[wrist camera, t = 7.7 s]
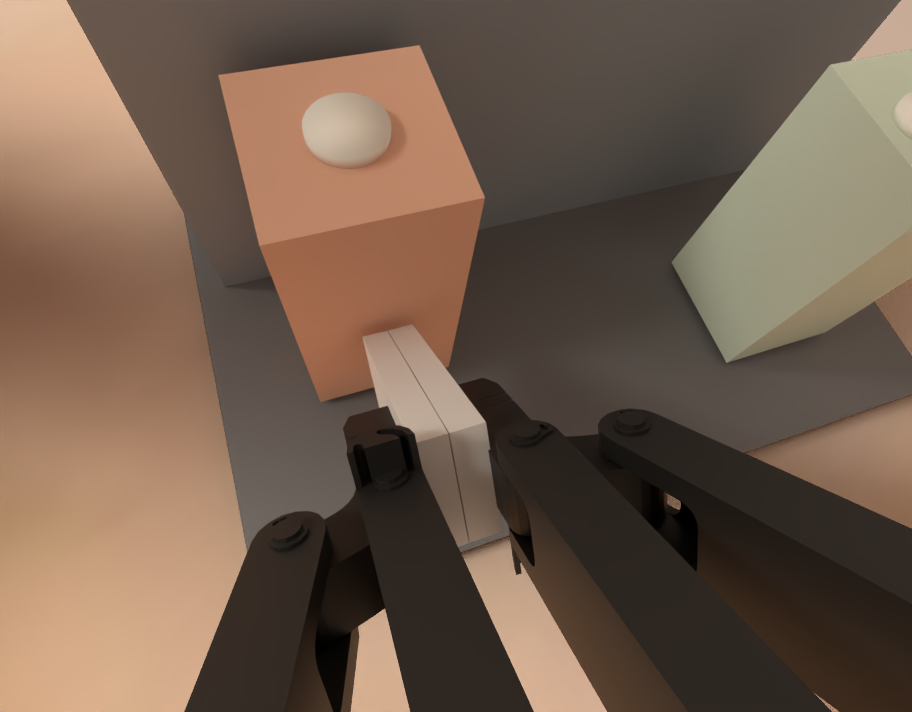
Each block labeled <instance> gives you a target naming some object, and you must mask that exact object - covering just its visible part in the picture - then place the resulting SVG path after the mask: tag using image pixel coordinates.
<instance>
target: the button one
mask: <svg viewBox="0 0 912 712" xmlns="http://www.w3.org/2000/svg"><path fill="white" fill-rule="evenodd" d="M218 76H219V80H220V84H221V88H222V92H223V97H224V101H225V105H226V109H227V113H228V117H229V122H230V126H231V130H232V134H233V138H234V142H235V147H236V151H237V155H238V159H239V163H240V167H241V172H242V176H243V180H244V184H245V188H246V192H247V197H248V201H249V205H250V209H251V213H252V217H253V221H254V226H255V230H256V234H257V238H258V242H259V246H260V249H261V251H262V254H263V256H264V259H265V262H266V264H267V267H268V269H269V272H270V274H271V277H272V279H273V282H274V285H275V287H276V290H277V292H278V295H279V297H280V300H281V303H282V305H283V308H284V310H285V313H286V315H287V318H288V320H289V323H290V326H291V328H292V331H293V333H294V336H295V338H296V341H297V344H298V346H299V349H300V351H301V354H302V356H303V359H304V361H305V364H306V367H307V369H308V372H309V374H310V377H311V379H312V382H313V384H314V387H315V390H316V392H317V395H318V397H319V400H320V402H323V401H326V400H330V399H334V398H337V397H341V396H345V395H348V394H352V393H355V392H359V391H363V390H366V389H370V388H374V384H373V380H372V375H371V371H370V367H369V363H368V359H367V355H366V350H365V346H364V342H363V338H362V337H364V336H368V335H372V334H376V333H380V332H384V331H388V330H392V329H396V328H400V327H404V326H408V325H412V324H413V326H414V327H415V328H416V330H417V331H418V332H419V334H420V335H421V336H422V338H423V339H424V340H425V342H426V343H427V344H428V346H429V347H430V348H431V350H432V351H433V352H434V354H435V355H436V356H437V358H438V359H439V360H440V362H441V363H442V364H443V366H444V367H445V368H446V367H449V363H450V359H451V354H452V349H453V345H454V340H455V335H456V331H457V326H458V321H459V317H460V312H461V307H462V303H463V298H464V293H465V289H466V284H467V279H468V275H469V270H470V265H471V261H472V256H473V251H474V247H475V242H476V237H477V233H478V228H479V223H480V219H481V214H482V209H483V205H484V200H485V196H484V194H483V192H482V190H481V187H480V185H479V183H478V180H477V178H476V176H475V173H474V171H473V169H472V166H471V164H470V162H469V159H468V157H467V155H466V152H465V150H464V148H463V145H462V143H461V141H460V138H459V136H458V134H457V131H456V129H455V127H454V124H453V122H452V120H451V117H450V115H449V113H448V110H447V108H446V106H445V103H444V101H443V99H442V96H441V94H440V92H439V89H438V87H437V85H436V82H435V80H434V78H433V75H432V73H431V71H430V68H429V66H428V64H427V61H426V59H425V57H424V54H423V52H422V50H421V48H420V45H418V46H411V47H404V48H398V49H391V50H384V51H377V52H371V53H364V54H357V55H350V56H344V57H337V58H330V59H323V60H317V61H310V62H303V63H296V64H290V65H283V66H276V67H269V68H263V69H256V70H249V71H242V72H236V73H229V74H222V75H218Z"/></svg>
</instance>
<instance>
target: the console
mask: <svg viewBox="0 0 912 712" xmlns="http://www.w3.org/2000/svg"><path fill="white" fill-rule="evenodd" d="M900 1H901V0H67V2H68V4H69V5H70V7H71V9H72V11H73V13H74V14H75V16H76V18H77V20H78V22H79V23H80V25H81V27H82V29H83V31H84V33H85V34H86V36H87V38H88V40H89V42H90V43H91V45H92V47H93V49H94V51H95V52H96V54H97V56H98V58H99V60H100V62H101V63H102V65H103V67H104V69H105V71H106V72H107V74H108V76H109V78H110V80H111V82H112V83H113V85H114V87H115V89H116V91H117V92H118V94H119V96H120V98H121V100H122V101H123V103H124V105H125V107H126V109H127V111H128V112H129V114H130V116H131V118H132V120H133V121H134V123H135V125H136V127H137V129H138V130H139V132H140V134H141V136H142V138H143V140H144V141H145V143H146V145H147V147H148V149H149V150H150V152H151V154H152V156H153V158H154V159H155V161H156V163H157V165H158V167H159V169H160V170H161V172H162V174H163V176H164V178H165V179H166V181H167V183H168V185H169V187H170V189H171V190H172V192H173V194H174V196H175V198H176V199H177V201H178V203H179V205H180V207H181V208H182V210H183V212H184V216H185V221H186V227H187V232H188V237H189V243H190V248H191V253H192V259H193V264H194V269H195V275H196V280H197V285H198V291H199V296H200V301H201V307H202V312H203V318H204V323H205V328H206V334H207V339H208V344H209V350H210V355H211V360H212V366H213V371H214V376H215V382H216V387H217V392H218V398H219V403H220V408H221V414H222V419H223V425H224V430H225V435H226V441H227V446H228V451H229V457H230V462H231V467H232V473H233V478H234V483H235V489H236V494H237V499H238V505H239V510H240V515H241V521H242V526H243V532H244V537H245V542H246V548H247V552H248V549H249V547H250V544H251V542H252V540H253V539H254V537H255V536H256V534H257V533H258V531H259V530H261V529H262V528H263V527H264V526H265V525H266V524H268V523H269V522H271V521H272V520H274V519H276V518H278V517H280V516H282V515H285V514H289V513H292V512H296V511H311V512H314V513H317V514H320V516H321V517H322V518H323V519H326V518H328V517H329V516H331V515H333V514H334V513H336V512H337V511H339V510H341V509H342V508H343V507H344V506H345V505H346V504H347V503H348V502H349V501H350V500H351V498H352V497H353V496H354V493H355V490H356V487H355V483H354V479H353V476H352V472H351V468H350V465H349V461H348V458H347V454H346V453H347V444H346V440H345V436H344V431H343V427H344V425H345V423H346V421H347V419H348V417H349V416H352V415H356V414H360V413H363V412H367V411H370V410H374V409H378V408H379V405H378V400H377V396H376V392H375V388H370V389H366V390H363V391H359V392H355V393H352V394H348V395H345V396H341V397H337V398H334V399H330V400H326V401H323V402H320V400H319V397H318V395H317V392H316V390H315V387H314V384H313V382H312V379H311V377H310V374H309V372H308V369H307V367H306V364H305V361H304V359H303V356H302V354H301V351H300V349H299V346H298V344H297V341H296V338H295V336H294V333H293V331H292V328H291V326H290V323H289V320H288V318H287V315H286V313H285V310H284V308H283V305H282V303H281V300H280V297H279V295H278V292H277V290H276V287H275V285H274V282H273V279H272V277H271V274H270V272H269V269H268V267H267V264H266V262H265V259H264V256H263V254H262V251H261V249H260V246H259V242H258V238H257V234H256V230H255V226H254V221H253V217H252V213H251V209H250V205H249V201H248V197H247V192H246V188H245V184H244V180H243V176H242V172H241V167H240V163H239V159H238V155H237V151H236V147H235V142H234V138H233V134H232V130H231V126H230V122H229V117H228V113H227V109H226V105H225V101H224V97H223V92H222V88H221V84H220V80H219V76H218V75H222V74H229V73H236V72H242V71H249V70H256V69H263V68H269V67H276V66H283V65H290V64H296V63H303V62H310V61H317V60H323V59H330V58H337V57H344V56H350V55H357V54H364V53H371V52H377V51H384V50H391V49H398V48H404V47H411V46H418V45H420V48H421V50H422V52H423V54H424V57H425V59H426V61H427V64H428V66H429V68H430V71H431V73H432V75H433V78H434V80H435V82H436V85H437V87H438V89H439V92H440V94H441V96H442V99H443V101H444V103H445V106H446V108H447V110H448V113H449V115H450V117H451V120H452V122H453V124H454V127H455V129H456V131H457V134H458V136H459V138H460V141H461V143H462V145H463V148H464V150H465V152H466V155H467V157H468V159H469V162H470V164H471V166H472V169H473V171H474V173H475V176H476V178H477V180H478V183H479V185H480V187H481V190H482V192H483V194H484V196H485V200H484V205H483V209H482V214H481V219H480V223H479V228H478V233H477V237H476V242H475V247H474V251H473V256H472V261H471V265H470V270H469V275H468V279H467V284H466V289H465V293H464V298H463V303H462V307H461V312H460V317H459V321H458V326H457V331H456V335H455V340H454V345H453V349H452V354H451V359H450V363H449V367H446V370H447V371H448V372H449V374H450V375H451V376H452V378H453V379H454V380H455V382H456V383H457V384H462V383H465V382H469V381H473V380H476V379H480V378H486V379H488V380H491V381H493V382H496V383H498V384H499V385H500V386H501V387H502V388H503V390H504V391H505V392H506V394H508V395H509V396H510V397H511V398H512V400H513V401H515V403H516V404H517V405H518V406H519V407H520V408H521V409H522V410H523V411H524V412H525V413H526V415H527V416H528V417H529V418H530V419H531V420H539V421H543V422H547V423H550V424H551V425H553V426H555V427H556V428H557V429H558V430H559V431H560V432H561V433H562V434H563V435H564V436H584V435H593V434H598V424H599V422H600V419H601V418H603V417H604V416H605V415H607V414H608V413H611V412H614V411H617V410H621V409H628V408H633V409H642V410H647V411H650V412H653V413H656V414H658V415H660V416H663V417H665V418H667V419H669V420H672V421H674V422H676V423H678V424H680V425H683V426H685V427H687V428H689V429H691V430H694V431H696V432H698V433H700V434H703V435H705V436H707V437H709V438H711V439H714V440H716V441H718V442H720V443H722V444H725V445H727V446H729V447H731V448H734V449H736V450H738V451H740V452H742V453H746V452H749V451H752V450H755V449H758V448H761V447H764V446H766V445H769V444H772V443H775V442H778V441H781V440H784V439H786V438H789V437H792V436H795V435H798V434H801V433H804V432H806V431H809V430H812V429H815V428H818V427H821V426H823V425H826V424H829V423H832V422H835V421H838V420H841V419H843V418H846V417H849V416H852V415H855V414H858V413H861V412H863V411H866V410H869V409H872V408H875V407H878V406H881V405H883V404H886V403H889V402H892V401H895V400H898V399H901V398H903V397H906V396H909V395H912V356H911V355H910V353H909V352H908V350H907V349H906V347H905V346H904V344H903V343H902V341H901V340H900V339H899V337H898V336H897V334H896V333H895V331H894V330H893V328H892V327H891V325H890V324H889V322H888V321H887V320H886V318H885V317H884V315H883V314H882V312H881V311H880V309H879V308H878V306H877V305H876V303H875V302H873V303H871V304H870V305H868V306H866V307H865V308H863V309H862V310H860V311H859V312H857V313H855V314H854V315H852V316H851V317H849V318H847V319H846V320H844V321H843V322H841V323H840V324H838V325H836V326H835V327H833V328H832V329H830V330H828V331H827V332H825V333H822V334H819V335H815V336H812V337H809V338H806V339H802V340H799V341H796V342H793V343H789V344H786V345H783V346H780V347H776V348H773V349H770V350H767V351H763V352H760V353H757V354H754V355H750V356H747V357H744V358H741V359H737V360H734V361H731V362H728V363H726V361H725V359H724V357H723V355H722V354H721V352H720V350H719V348H718V346H717V344H716V343H715V341H714V339H713V337H712V335H711V334H710V332H709V330H708V328H707V326H706V324H705V323H704V321H703V319H702V317H701V315H700V314H699V312H698V310H697V308H696V306H695V304H694V303H693V301H692V299H691V297H690V295H689V294H688V292H687V290H686V288H685V286H684V284H683V283H682V281H681V279H680V277H679V275H678V274H677V272H676V270H675V268H674V266H673V264H672V263H671V262H672V261H673V260H674V258H675V257H676V256H677V255H678V253H679V252H680V251H681V250H682V248H683V247H684V246H685V245H686V243H687V242H688V241H689V240H690V238H691V237H692V236H693V235H694V234H695V232H696V231H697V230H698V229H699V227H700V226H701V225H702V224H703V222H704V221H705V220H706V219H707V217H708V216H709V215H710V214H711V212H712V211H713V210H714V209H715V207H716V206H717V205H718V204H719V202H720V201H721V200H722V199H723V197H724V196H725V195H726V194H727V192H728V191H729V190H730V189H731V188H732V186H733V185H734V184H735V183H736V181H737V180H738V179H739V178H740V176H741V175H742V174H743V173H744V171H745V170H746V169H747V168H748V166H749V165H750V164H751V163H752V161H753V160H754V159H755V158H756V156H757V155H758V154H759V153H760V151H761V150H762V149H763V148H764V146H765V145H766V144H767V143H768V142H769V140H770V139H771V138H772V137H773V135H774V134H775V133H776V132H777V130H778V129H779V128H780V127H781V125H782V124H783V123H784V122H785V120H786V119H787V118H788V117H789V115H790V114H791V113H792V112H793V110H794V109H795V108H796V107H797V105H798V104H799V103H800V102H801V100H802V99H803V98H804V97H805V95H806V94H807V93H808V92H809V91H810V89H811V88H812V87H813V86H814V84H815V83H816V82H817V81H818V79H819V78H820V77H821V76H822V74H823V73H824V72H825V71H826V69H827V68H828V67H829V66H830V65H831V64H836V63H841V62H847V61H851V59H852V58H853V57H854V56H855V55H856V53H857V52H858V51H859V50H860V49H861V47H862V46H863V45H864V44H865V43H866V41H867V40H868V39H869V38H870V37H871V35H872V34H873V33H874V32H875V31H876V29H877V28H878V27H879V26H880V25H881V23H882V22H883V21H884V20H885V19H886V18H887V16H888V15H889V14H890V13H891V11H892V10H893V9H894V8H895V7H896V6H897V4H898V3H899V2H900ZM500 515H501V522H502V528H503V532H500V533H497V534H494V535H491V536H488V537H485V538H482V539H479V540H476V541H473V542H469V543H467V544H464V545H462V546H459V547H458V548H459V550H460V552H464V551H467V550H470V549H472V548H475V547H478V546H481V545H484V544H487V543H490V542H492V541H495V540H498V539H501V538H504V537H507V536H510V535H509V528H508V524H507V522H506V521H505V519H504V517H503V516H502V514H501V512H500ZM468 541H469V540H468Z"/></svg>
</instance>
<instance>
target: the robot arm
mask: <svg viewBox="0 0 912 712" xmlns="http://www.w3.org/2000/svg"><path fill="white" fill-rule="evenodd" d="M362 338H363V342H364V346H365V350H366V355H367V359H368V363H369V367H370V371H371V375H372V380H373V384H374V388H375V392H376V396H377V400H378V405H379V408H378V409H374V410H370V411H367V412H363V413H360V414H356V415H352V416H349V417H348V419H347V421H346V423H345V425H344V427H343V431H344V436H345V440H346V444H347V453H346V454H347V458H348V461H349V465H350V468H351V472H352V476H353V479H354V483H355V487H356V490H355V493H354V496H353V497H352V498H351V500H350V501H349V502H348V503H347V504H346V505H345V506H344V507H343V508H342V509H341V510H339V511H337V512H336V513H334V514H333V515H331V516H329V517H328V518H326V519H323V518H322V517H321V516H320V514H317V513H314V512H311V511H296V512H292V513H289V514H285V515H282V516H280V517H278V518H276V519H274V520H272V521H271V522H269V523H268V524H266V525H265V526H264V527H263V528H262V529H261V530H259V531H258V533H257V534H256V536H255V537H254V539H253V540H252V542H251V544H250V547H249V549H248V552H247V555H246V557H245V560H244V562H243V565H242V567H241V570H240V572H239V575H238V577H237V580H236V582H235V585H234V588H233V590H232V593H231V595H230V598H229V600H228V603H227V605H226V608H225V610H224V613H223V615H222V618H221V621H220V623H219V626H218V628H217V631H216V633H215V636H214V638H213V641H212V643H211V646H210V648H209V651H208V653H207V656H206V659H205V661H204V664H203V666H202V669H201V671H200V674H199V676H198V679H197V681H196V684H195V686H194V689H193V692H192V694H191V697H190V699H189V702H188V704H187V707H186V709H185V712H350V711H351V703H352V694H353V685H354V677H355V668H356V659H357V651H358V642H359V631H358V626H359V625H361V624H362V623H364V622H365V621H367V620H368V619H370V618H371V617H373V616H374V615H376V614H377V613H379V612H380V611H382V610H383V609H384V608H385V609H386V614H387V618H388V622H389V626H390V630H391V634H392V638H393V642H394V646H395V651H396V655H397V659H398V663H399V667H400V671H401V675H402V679H403V683H404V688H405V692H406V696H407V700H408V704H409V708H410V712H534V711H533V709H532V707H531V705H530V702H529V700H528V698H527V696H526V694H525V692H524V689H523V687H522V685H521V683H520V681H519V679H518V676H517V674H516V672H515V670H514V668H513V665H512V663H511V661H510V659H509V657H508V655H507V652H506V650H505V648H504V646H503V644H502V642H501V639H500V637H499V635H498V633H497V631H496V628H495V626H494V624H493V622H492V620H491V618H490V615H489V613H488V611H487V609H486V607H485V605H484V602H483V600H482V598H481V596H480V594H479V591H478V589H477V587H476V585H475V583H474V581H473V578H472V576H471V574H470V572H469V570H468V568H467V565H466V563H465V561H464V559H463V557H462V554H461V552H460V550H459V548H458V547H459V546H462V545H464V544H467V543H469V542H473V541H476V540H479V539H482V538H485V537H488V536H491V535H494V534H497V533H500V532H503V528H502V522H501V515H500V512H501V514H502V516H503V517H504V519H505V521H506V522H507V524H508V528H509V535H510V541H511V548H512V555H513V561H514V567H515V571H516V575H517V574H520V573H521V567H520V563H522V565H523V566H524V568H525V570H526V571H527V573H528V575H529V577H530V578H531V580H532V582H533V584H534V585H535V587H536V589H537V591H538V592H539V594H540V596H541V597H542V599H543V601H544V603H545V604H546V606H547V608H548V610H549V611H550V613H551V615H552V617H553V618H554V620H555V622H556V623H557V625H558V627H559V629H560V630H561V632H562V634H563V636H564V637H565V639H566V641H567V643H568V644H569V646H570V648H571V650H572V651H573V653H574V655H575V656H576V658H577V660H578V662H579V663H580V665H581V667H582V669H583V670H584V672H585V674H586V676H587V677H588V679H589V681H590V682H591V684H592V686H593V688H594V689H595V691H596V693H597V695H598V696H599V698H600V700H601V702H602V703H603V705H604V707H605V708H606V710H607V712H832V711H831V710H830V709H829V708H828V707H827V706H826V705H825V704H824V703H823V702H822V701H821V700H820V699H819V698H818V697H817V696H816V695H815V694H817V695H818V696H819V697H821V698H822V699H823V700H825V701H826V702H827V703H829V704H830V705H831V706H833V707H834V708H835V709H837V710H838V711H839V712H912V529H911V528H909V527H906V526H904V525H902V524H900V523H898V522H895V521H893V520H891V519H889V518H886V517H884V516H882V515H880V514H878V513H875V512H873V511H871V510H869V509H867V508H864V507H862V506H860V505H858V504H855V503H853V502H851V501H849V500H847V499H844V498H842V497H840V496H838V495H835V494H833V493H831V492H829V491H827V490H824V489H822V488H820V487H818V486H816V485H813V484H811V483H809V482H807V481H804V480H802V479H800V478H798V477H796V476H793V475H791V474H789V473H787V472H785V471H782V470H780V469H778V468H776V467H773V466H771V465H769V464H767V463H765V462H762V461H760V460H758V459H756V458H754V457H751V456H749V455H747V454H745V453H742V452H740V451H738V450H736V449H734V448H731V447H729V446H727V445H725V444H722V443H720V442H718V441H716V440H714V439H711V438H709V437H707V436H705V435H703V434H700V433H698V432H696V431H694V430H691V429H689V428H687V427H685V426H683V425H680V424H678V423H676V422H674V421H672V420H669V419H667V418H665V417H663V416H660V415H658V414H656V413H653V412H650V411H647V410H642V409H633V408H628V409H621V410H617V411H614V412H611V413H608V414H607V415H605V416H604V417H603V418H601V419H600V422H599V424H598V434H593V435H584V436H564V435H563V434H562V433H561V432H560V431H559V430H558V429H557V428H556V427H555V426H553V425H551V424H550V423H547V422H543V421H539V420H531V419H530V418H529V417H528V416H527V415H526V413H525V412H524V411H523V410H522V409H521V408H520V407H519V406H518V405H517V404H516V403H515V401H513V400H512V398H511V397H510V396H509V395H508V394H506V392H505V391H504V390H503V388H502V387H501V386H500V385H499V384H498V383H496V382H493V381H491V380H488V379H486V378H480V379H476V380H473V381H469V382H465V383H462V384H457V383H456V382H455V380H454V379H453V378H452V376H451V375H450V374H449V372H448V371H447V370H446V368H445V367H444V366H443V364H442V363H441V362H440V360H439V359H438V358H437V356H436V355H435V354H434V352H433V351H432V350H431V348H430V347H429V346H428V344H427V343H426V342H425V340H424V339H423V338H422V336H421V335H420V334H419V332H418V331H417V330H416V328H415V327H414V326H413V324H412V325H408V326H404V327H400V328H396V329H392V330H388V331H384V332H380V333H376V334H372V335H368V336H364V337H362ZM667 493H668V494H669V495H671V496H673V497H674V498H676V499H678V500H679V501H681V509H680V510H678V509H675V508H673V507H672V506H670V505H668V504H667ZM468 540H469V541H468ZM812 691H813V692H814V693H815V694H814V693H813V692H812Z"/></svg>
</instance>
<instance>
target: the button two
mask: <svg viewBox="0 0 912 712" xmlns="http://www.w3.org/2000/svg"><path fill="white" fill-rule="evenodd" d="M671 263H672V264H673V266H674V268H675V270H676V272H677V274H678V275H679V277H680V279H681V281H682V283H683V284H684V286H685V288H686V290H687V292H688V294H689V295H690V297H691V299H692V301H693V303H694V304H695V306H696V308H697V310H698V312H699V314H700V315H701V317H702V319H703V321H704V323H705V324H706V326H707V328H708V330H709V332H710V334H711V335H712V337H713V339H714V341H715V343H716V344H717V346H718V348H719V350H720V352H721V354H722V355H723V357H724V359H725V361H726V363H728V362H731V361H734V360H737V359H741V358H744V357H747V356H750V355H754V354H757V353H760V352H763V351H767V350H770V349H773V348H776V347H780V346H783V345H786V344H789V343H793V342H796V341H799V340H802V339H806V338H809V337H812V336H815V335H819V334H822V333H825V332H827V331H828V330H830V329H832V328H833V327H835V326H836V325H838V324H840V323H841V322H843V321H844V320H846V319H847V318H849V317H851V316H852V315H854V314H855V313H857V312H859V311H860V310H862V309H863V308H865V307H866V306H868V305H870V304H871V303H873V302H874V301H876V300H878V299H879V298H881V297H882V296H884V295H885V294H887V293H889V292H890V291H892V290H893V289H895V288H897V287H898V286H900V285H901V284H903V283H905V282H906V281H908V280H909V279H911V278H912V50H906V51H901V52H896V53H890V54H885V55H880V56H874V57H868V58H863V59H858V60H852V61H847V62H841V63H836V64H831V65H830V66H829V67H828V68H827V69H826V71H825V72H824V73H823V74H822V76H821V77H820V78H819V79H818V81H817V82H816V83H815V84H814V86H813V87H812V88H811V89H810V91H809V92H808V93H807V94H806V95H805V97H804V98H803V99H802V100H801V102H800V103H799V104H798V105H797V107H796V108H795V109H794V110H793V112H792V113H791V114H790V115H789V117H788V118H787V119H786V120H785V122H784V123H783V124H782V125H781V127H780V128H779V129H778V130H777V132H776V133H775V134H774V135H773V137H772V138H771V139H770V140H769V142H768V143H767V144H766V145H765V146H764V148H763V149H762V150H761V151H760V153H759V154H758V155H757V156H756V158H755V159H754V160H753V161H752V163H751V164H750V165H749V166H748V168H747V169H746V170H745V171H744V173H743V174H742V175H741V176H740V178H739V179H738V180H737V181H736V183H735V184H734V185H733V186H732V188H731V189H730V190H729V191H728V192H727V194H726V195H725V196H724V197H723V199H722V200H721V201H720V202H719V204H718V205H717V206H716V207H715V209H714V210H713V211H712V212H711V214H710V215H709V216H708V217H707V219H706V220H705V221H704V222H703V224H702V225H701V226H700V227H699V229H698V230H697V231H696V232H695V234H694V235H693V236H692V237H691V238H690V240H689V241H688V242H687V243H686V245H685V246H684V247H683V248H682V250H681V251H680V252H679V253H678V255H677V256H676V257H675V258H674V260H673V261H672V262H671Z"/></svg>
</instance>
